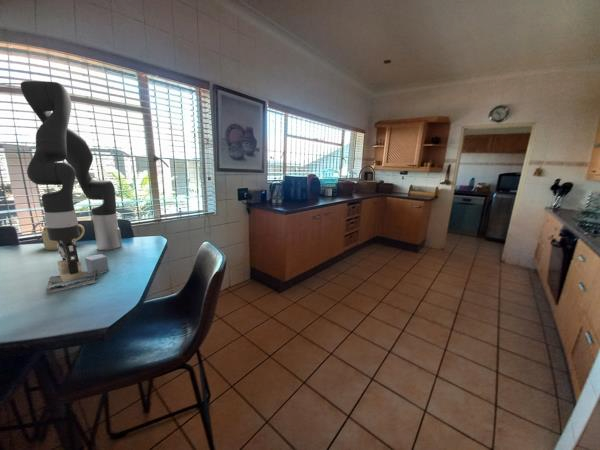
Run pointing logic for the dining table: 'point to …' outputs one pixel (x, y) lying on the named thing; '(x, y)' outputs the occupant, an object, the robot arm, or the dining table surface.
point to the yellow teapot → (53, 244)
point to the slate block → (97, 263)
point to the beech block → (65, 271)
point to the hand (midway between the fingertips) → (71, 270)
